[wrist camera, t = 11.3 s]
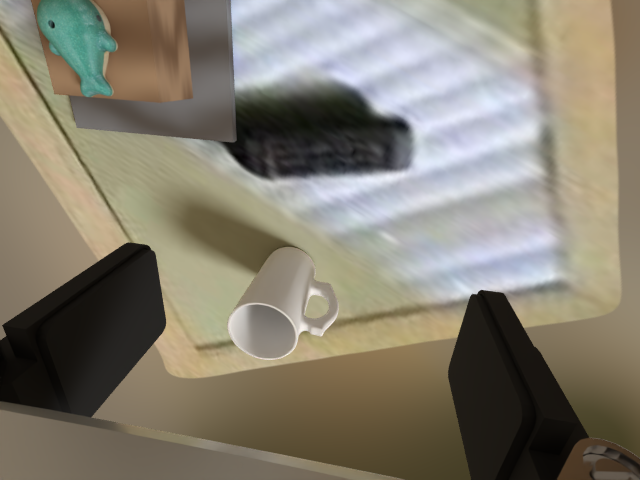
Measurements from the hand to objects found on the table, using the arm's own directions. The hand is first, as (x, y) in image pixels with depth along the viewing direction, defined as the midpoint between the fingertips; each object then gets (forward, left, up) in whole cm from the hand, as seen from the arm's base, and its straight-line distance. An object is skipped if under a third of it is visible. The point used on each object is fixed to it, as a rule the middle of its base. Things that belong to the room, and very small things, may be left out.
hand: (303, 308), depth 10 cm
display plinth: (-8, -22, -28) cm, 37 cm away
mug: (+16, -5, -29) cm, 33 cm away
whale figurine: (-7, -22, -22) cm, 32 cm away
